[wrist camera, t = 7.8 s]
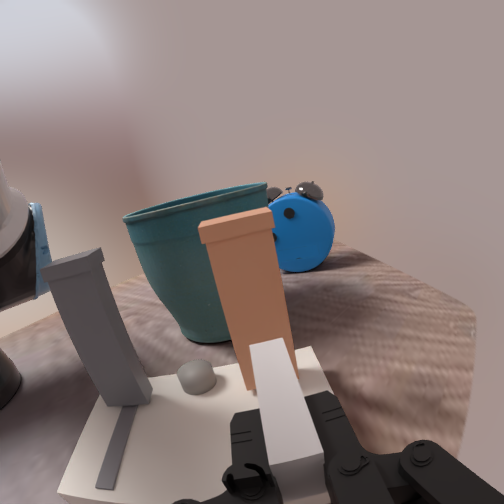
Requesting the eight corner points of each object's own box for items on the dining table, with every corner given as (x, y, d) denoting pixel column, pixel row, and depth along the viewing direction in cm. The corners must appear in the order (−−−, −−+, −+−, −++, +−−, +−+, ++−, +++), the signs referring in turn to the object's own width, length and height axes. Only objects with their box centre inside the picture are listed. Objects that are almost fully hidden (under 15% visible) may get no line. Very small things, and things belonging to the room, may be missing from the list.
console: (118, 403, 26) (99, 369, 25) (314, 371, 26) (308, 332, 25) (80, 512, 12) (44, 480, 11) (366, 491, 13) (371, 456, 12)
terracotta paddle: (242, 374, 23) (200, 221, 20) (296, 362, 23) (266, 206, 20) (244, 393, 21) (197, 227, 17) (302, 379, 21) (272, 211, 17)
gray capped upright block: (112, 391, 23) (55, 260, 19) (155, 387, 23) (100, 247, 20) (104, 408, 20) (39, 269, 17) (150, 405, 21) (86, 255, 17)
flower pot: (219, 288, 53) (195, 193, 48) (313, 296, 42) (292, 174, 38) (138, 340, 39) (98, 223, 35) (237, 375, 28) (190, 204, 24)
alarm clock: (339, 258, 55) (326, 177, 51) (337, 270, 49) (324, 180, 45) (272, 264, 59) (256, 188, 55) (263, 277, 54) (245, 193, 50)
